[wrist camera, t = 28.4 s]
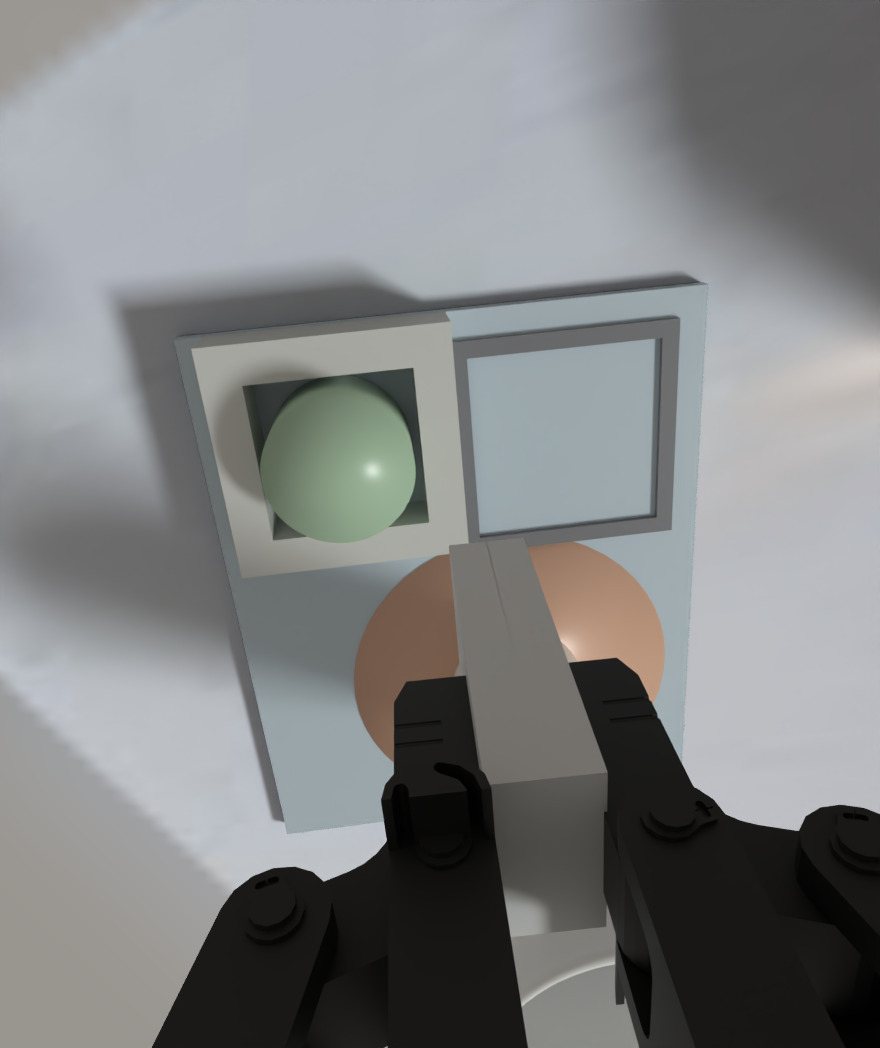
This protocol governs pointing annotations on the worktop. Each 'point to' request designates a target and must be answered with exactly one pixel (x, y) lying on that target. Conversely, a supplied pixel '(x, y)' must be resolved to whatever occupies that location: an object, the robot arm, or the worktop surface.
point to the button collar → (329, 352)
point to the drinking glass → (571, 985)
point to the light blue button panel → (492, 530)
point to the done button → (338, 460)
